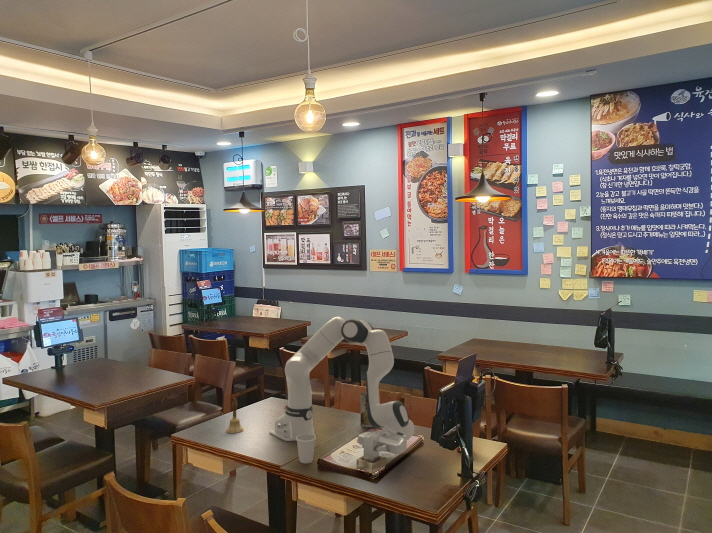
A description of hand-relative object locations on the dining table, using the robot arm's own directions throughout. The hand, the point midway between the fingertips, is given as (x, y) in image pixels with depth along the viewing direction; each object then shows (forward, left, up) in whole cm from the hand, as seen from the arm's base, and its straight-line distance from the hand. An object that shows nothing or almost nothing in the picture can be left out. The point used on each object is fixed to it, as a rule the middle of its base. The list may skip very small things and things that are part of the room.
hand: (370, 448), depth 209 cm
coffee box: (-31, +44, -9) cm, 54 cm away
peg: (0, +1, -8) cm, 8 cm away
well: (0, +1, -9) cm, 9 cm away
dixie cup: (-27, -8, -9) cm, 30 cm away
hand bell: (-79, -2, -9) cm, 80 cm away
